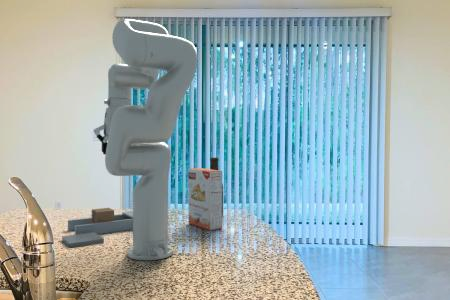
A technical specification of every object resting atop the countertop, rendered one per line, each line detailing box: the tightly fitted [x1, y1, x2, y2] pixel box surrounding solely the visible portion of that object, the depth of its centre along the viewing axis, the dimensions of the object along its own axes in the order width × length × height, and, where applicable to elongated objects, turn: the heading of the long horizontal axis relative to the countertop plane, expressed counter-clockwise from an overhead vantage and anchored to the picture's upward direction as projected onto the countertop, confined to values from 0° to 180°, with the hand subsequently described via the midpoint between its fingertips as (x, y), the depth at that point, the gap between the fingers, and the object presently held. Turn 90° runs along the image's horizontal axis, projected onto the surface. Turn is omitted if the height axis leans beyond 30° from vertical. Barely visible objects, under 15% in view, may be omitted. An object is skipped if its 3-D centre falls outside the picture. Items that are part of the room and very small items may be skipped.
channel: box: [67, 210, 133, 235], centre depth 137 cm, size 11×25×4 cm, turn 125°
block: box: [91, 207, 115, 224], centre depth 136 cm, size 6×6×7 cm
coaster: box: [61, 232, 105, 248], centre depth 120 cm, size 10×10×1 cm
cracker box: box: [187, 167, 223, 232], centre depth 141 cm, size 14×6×21 cm, turn 37°
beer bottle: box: [209, 157, 224, 217], centre depth 161 cm, size 8×8×24 cm
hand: (119, 153), depth 134 cm, fingers open, 9 cm apart
